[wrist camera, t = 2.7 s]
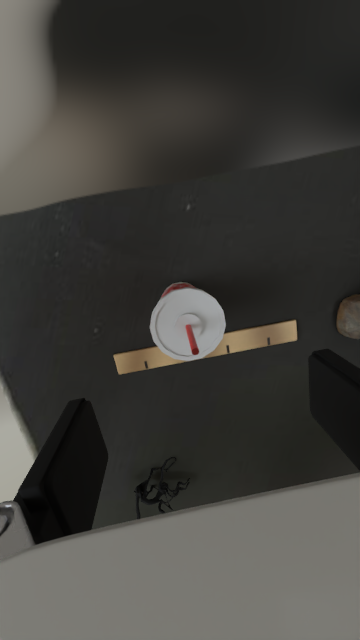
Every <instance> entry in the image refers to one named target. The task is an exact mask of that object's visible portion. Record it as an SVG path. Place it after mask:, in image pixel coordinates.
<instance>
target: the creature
mask: <svg viewBox="0 0 360 640" xmlns="http://www.w3.org/2000/svg"><path fill="white" fill-rule="evenodd" d="M171 458H175V457H171ZM171 458H169V459H167V460H166V461H165V463H164V464H163V466H162V468H161V481H160V483H159V489H157V488H156V487H155V486H151V489H150V491H149V492H148V491H147V490H146V489H147V485H148V482H149V479H150V478H151V476H152V473H153V470H157V469H155V468H152V469H151V472H150V476H149V478H148V480H146V481H145V482H143V483H141V484H140V485H138V486H137V487H136V488H135V489H136V491H134V492H135V493H136V512H137V519H140V512H139V498H141V502H143V503H145V504H147V505H152V504H156V503H158V502H160V503H159V506H158V508H159V511H160V512H161V513H165V512H164V511H163V510H161V504H162V503H163V504H165V503H168V502H169V501H168V500H167V501H168V502H164V501H163V500H162V499H161V500H159V498H160V497H161V496H162V495H163V494H165V495H166V492H167V493H168V490H167V488H168V489H169V487H168V484H167V483H165V482H164V483H162V481H163V469H164V467H165V465H166V463H167V461H168V460H170V459H171ZM175 461H176V458H175ZM172 464H173V463H172ZM172 464H171V465H172ZM171 465H170V466H171ZM170 466H169V467H170ZM158 469H159V468H158ZM168 469H169V468H168ZM168 469H164V470H165V471H166V472H167V470H168ZM189 479H190V478H189ZM189 479H188V480H189ZM188 480H187V482H188ZM187 482H186V483H187ZM161 483H162V484H161ZM186 483H182V482H178V484H177V487H176V489H175V490H173V491H172V490H170V489H169V490H170V491H171V492H173V493H174V492H175V491H177V492H176V493H174V495H173V496H171V495H169V493H168V495H169V496H171V497H172V498H173V497H175V496H177V495H178V492H179V490H185V489H186V488H187V486H188V484H189V483H188V484H187V486H186V488H181V487H179V485H180V484H181V485H185V484H186ZM153 487H154V488H156V489H157V490H158V492H157V495H156V497H155V498H153V499H150V500H148V499H147V498H146V497H147V495H148V494H149V493H150V492H151V491H152V489H153ZM166 487H167V488H166ZM142 492H143V494H142ZM166 498H167V497H166ZM168 504H169V503H168ZM165 505H166V504H165ZM168 507H169V508H170V509H172V508H171V507H170V505H169V506H168Z"/></svg>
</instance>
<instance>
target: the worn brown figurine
mask: <svg viewBox="0 0 360 640" xmlns="http://www.w3.org/2000/svg"><path fill="white" fill-rule="evenodd" d="M336 325H337V329H338V331H339V332H340V334H342V335H344V336H348V337H350V338H355V339H360V294H359V295H357V294H355V295H353V296H350V297H346V298H345V299H343V300H342V302H341V303H340V307H339V309H338V313H337V324H336Z"/></svg>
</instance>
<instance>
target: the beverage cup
mask: <svg viewBox="0 0 360 640" xmlns="http://www.w3.org/2000/svg"><path fill="white" fill-rule="evenodd" d="M225 326H226V323H225V317H224V311H223V310H222V308H221V307H220V305H219V304H218V302H217V301H216V299H215V298H214V297H212V296H211V295H209V294H207V293H206V292H204V291H203V290H201V289H197V288H195V287H194V286H192V285H191V284H189V283H185V282H178V283H173V284H172V285H170V286H169V287H167V288H166V290H165V291H164V293H163V294H162V297H161V299H160V300H159V302H158V303H157V305H156V307H155V308H154V310H153V312H152V317H151V323H150V330H151V334H152V338H153V341H154V343H155V344H156V345H157V346H158V348H159V349H160V350H161V351H162V352H163V353H164V354H166V355H168V356H170V357H172V358H173V359H177V360H184V361H191V360H195V359H200V358H203V357H205V356H206V355H208V354H209V353H211V352H212V351H214V350H215V348H216V347H217V346H218V344H219V343H220V341H221V340H222V339H223V335H224V331H225Z"/></svg>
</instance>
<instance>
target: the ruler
mask: <svg viewBox="0 0 360 640" xmlns="http://www.w3.org/2000/svg"><path fill="white" fill-rule="evenodd" d="M296 340H297V326H296V320H295V319H294V320H289V321H284V322H278V323H273V324H268V325H263V326H258V327H252V328H247V329H242V330H237V331H232V332H226V333H224V335H223V339H222V340H221V341H220V343H219V344H218V346H217V347H216V348H215V350H214V351H212V352H211V353H209V354H208V355H206V356H205V357H203V358H207V357H213V356H218V355H223V354H228V353H233V352H239V351H244V350H249V349H254V348H259V347H264V346H270V345H275V344H280V343H285V342H290V341H296ZM114 359H115V363H116V366H117V370H118V373H119V374H125V373H130V372H135V371H140V370H145V369H151V368H156V367H161V366H166V365H171V364H176V363H182V362H187V361H184V360H177V359H173V358H172V357H170V356H168V355H166V354H164V353H163V352H162V351H161V350H160V349H159V348H158V346H154V347H149V348H143V349H138V350H133V351H128V352H123V353H117V354H114ZM200 359H202V358H200ZM195 360H197V359H195ZM191 361H192V360H191Z"/></svg>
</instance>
